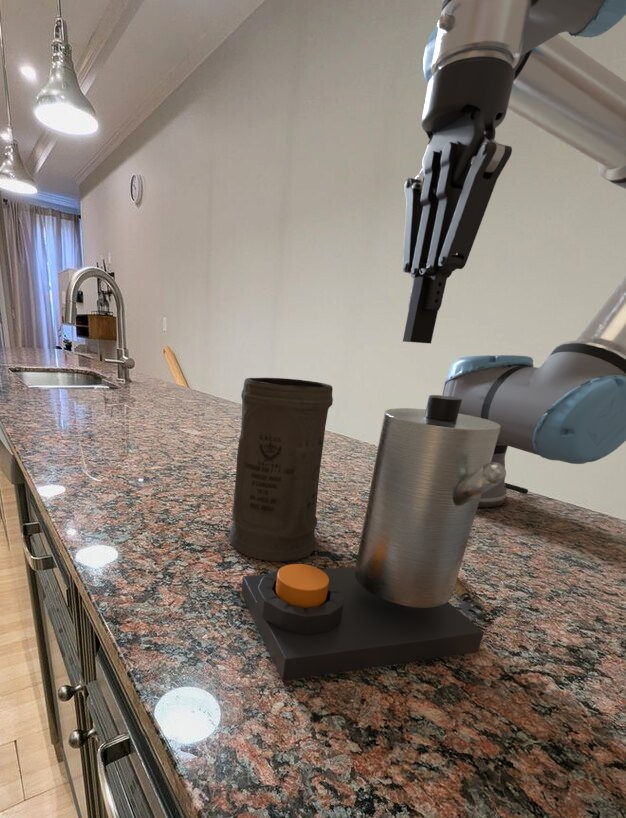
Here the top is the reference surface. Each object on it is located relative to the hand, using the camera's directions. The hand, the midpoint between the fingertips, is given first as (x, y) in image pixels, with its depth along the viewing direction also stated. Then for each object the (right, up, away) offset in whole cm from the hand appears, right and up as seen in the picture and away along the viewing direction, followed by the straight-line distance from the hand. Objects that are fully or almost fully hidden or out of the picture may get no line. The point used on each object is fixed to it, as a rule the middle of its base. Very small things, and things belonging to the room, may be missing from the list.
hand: (416, 342), depth 51 cm
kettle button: (-15, -26, -12) cm, 33 cm away
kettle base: (-10, -30, -9) cm, 32 cm away
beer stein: (-16, -22, +7) cm, 28 cm away
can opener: (+3, -29, -4) cm, 29 cm away
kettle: (-5, -26, -10) cm, 28 cm away
